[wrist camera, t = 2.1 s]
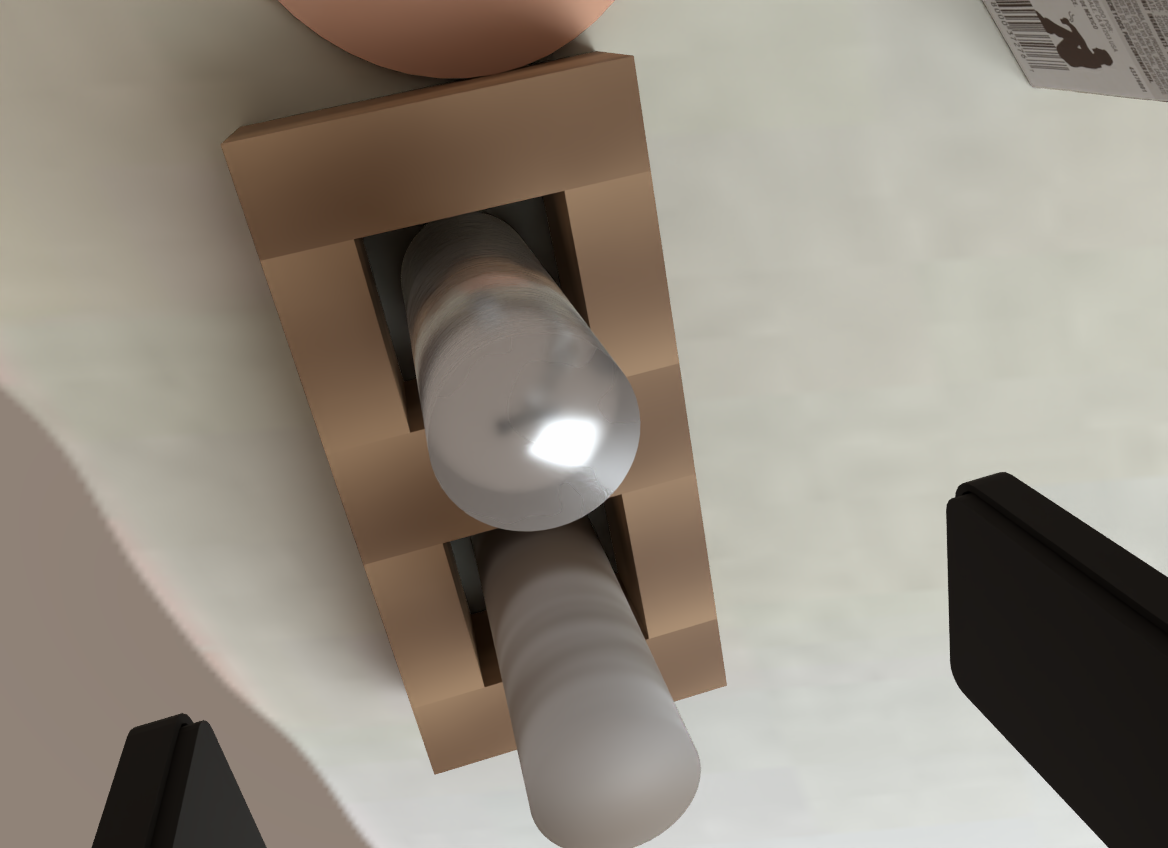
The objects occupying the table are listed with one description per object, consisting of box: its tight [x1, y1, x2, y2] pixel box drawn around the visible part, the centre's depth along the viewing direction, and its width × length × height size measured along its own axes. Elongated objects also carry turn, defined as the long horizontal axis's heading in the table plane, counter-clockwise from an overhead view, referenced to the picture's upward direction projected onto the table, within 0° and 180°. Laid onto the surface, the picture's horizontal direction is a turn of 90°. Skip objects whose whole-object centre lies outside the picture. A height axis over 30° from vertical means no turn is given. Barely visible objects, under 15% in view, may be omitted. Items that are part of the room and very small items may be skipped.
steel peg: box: [401, 212, 640, 531], centre depth 23 cm, size 4×4×12 cm
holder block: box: [221, 51, 727, 848], centre depth 25 cm, size 20×10×12 cm, turn 11°
